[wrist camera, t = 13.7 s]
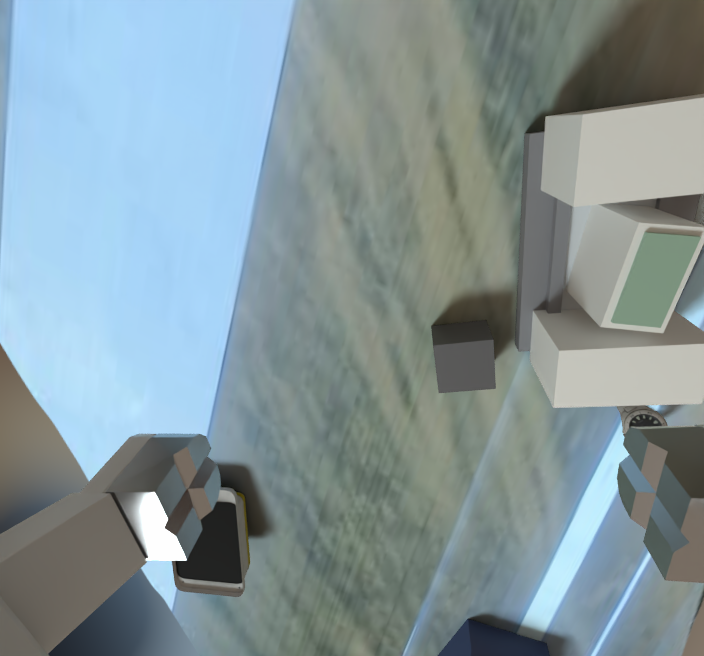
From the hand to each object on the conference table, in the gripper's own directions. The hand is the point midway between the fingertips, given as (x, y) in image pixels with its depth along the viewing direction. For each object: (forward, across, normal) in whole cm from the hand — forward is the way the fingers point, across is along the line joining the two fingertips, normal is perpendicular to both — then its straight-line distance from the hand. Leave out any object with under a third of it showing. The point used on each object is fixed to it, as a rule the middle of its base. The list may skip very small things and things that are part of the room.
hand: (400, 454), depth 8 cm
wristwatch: (+29, -20, +22) cm, 42 cm away
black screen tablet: (+25, +29, +46) cm, 59 cm away
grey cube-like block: (+29, -4, +14) cm, 33 cm away
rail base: (+29, -15, +5) cm, 33 cm away
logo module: (+27, -15, +5) cm, 32 cm away
